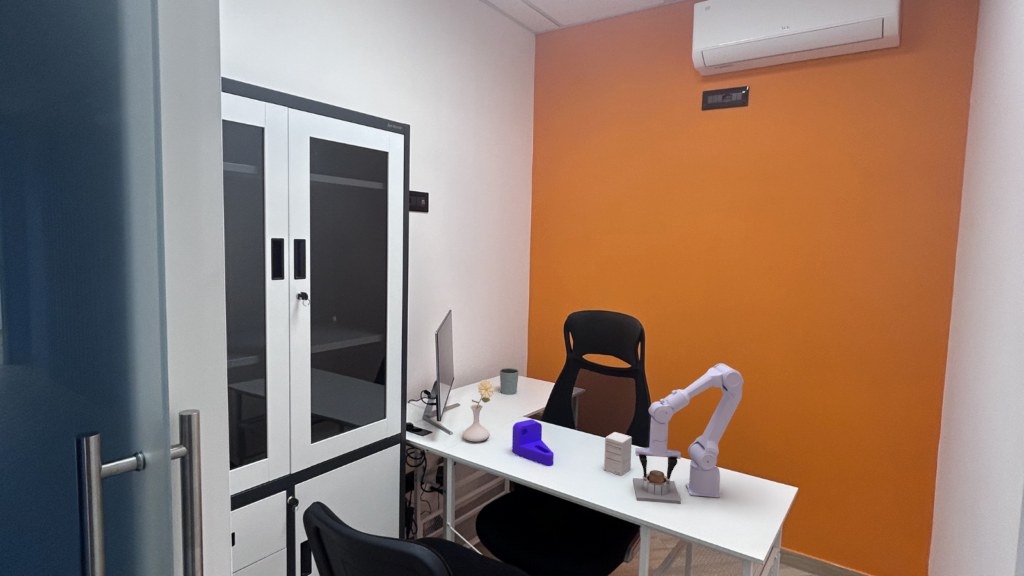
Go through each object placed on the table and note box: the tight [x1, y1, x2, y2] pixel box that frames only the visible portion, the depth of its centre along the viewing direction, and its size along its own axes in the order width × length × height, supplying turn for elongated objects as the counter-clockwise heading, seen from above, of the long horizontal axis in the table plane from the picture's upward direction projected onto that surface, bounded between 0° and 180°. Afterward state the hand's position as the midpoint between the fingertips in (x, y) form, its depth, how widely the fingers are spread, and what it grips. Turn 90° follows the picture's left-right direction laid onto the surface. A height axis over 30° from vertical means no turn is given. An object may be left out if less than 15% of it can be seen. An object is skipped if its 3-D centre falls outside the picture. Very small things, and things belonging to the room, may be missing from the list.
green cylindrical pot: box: [499, 367, 520, 396], centre depth 291 cm, size 10×10×12 cm
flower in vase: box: [462, 379, 495, 442], centre depth 227 cm, size 13×11×25 cm
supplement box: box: [603, 431, 633, 476], centre depth 200 cm, size 7×7×13 cm
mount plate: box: [632, 477, 682, 505], centre depth 185 cm, size 14×14×1 cm
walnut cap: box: [648, 469, 665, 484], centre depth 184 cm, size 5×5×6 cm
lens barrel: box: [642, 473, 671, 495], centre depth 185 cm, size 9×9×4 cm
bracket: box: [511, 418, 554, 467], centre depth 210 cm, size 18×11×12 cm, turn 34°
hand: (656, 477), depth 184 cm, fingers open, 7 cm apart
